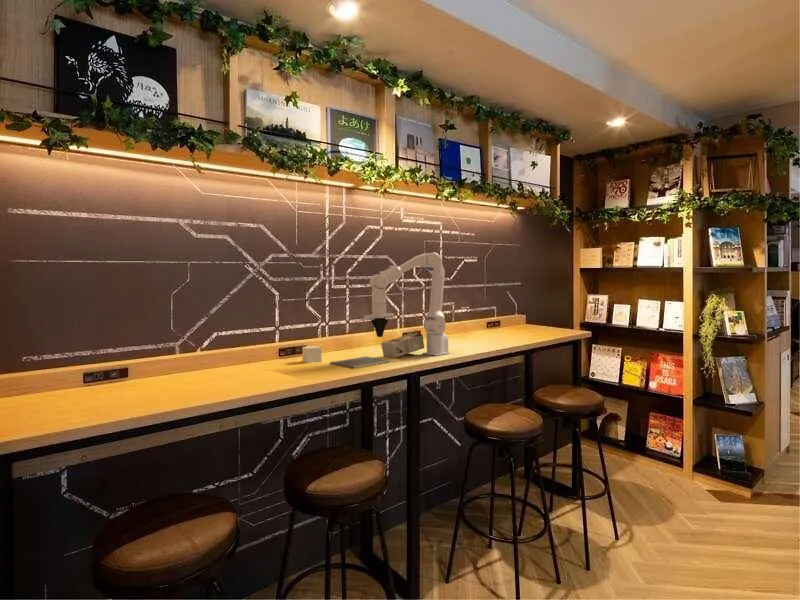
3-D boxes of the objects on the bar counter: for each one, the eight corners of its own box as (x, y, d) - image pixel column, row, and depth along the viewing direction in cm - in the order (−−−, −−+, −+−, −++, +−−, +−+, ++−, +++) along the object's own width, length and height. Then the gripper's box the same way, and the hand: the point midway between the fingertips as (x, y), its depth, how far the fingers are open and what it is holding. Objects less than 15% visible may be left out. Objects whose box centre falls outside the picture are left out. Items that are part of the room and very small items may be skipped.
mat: (365, 357, 194) (365, 356, 194) (390, 362, 183) (390, 360, 183) (329, 363, 182) (329, 362, 182) (354, 368, 170) (354, 367, 170)
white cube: (321, 362, 187) (321, 347, 187) (307, 363, 184) (306, 348, 184) (316, 359, 192) (316, 345, 192) (302, 361, 189) (302, 346, 189)
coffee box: (380, 342, 196) (409, 333, 206) (383, 356, 197) (412, 347, 206) (393, 342, 189) (422, 333, 199) (396, 358, 190) (425, 348, 199)
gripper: (386, 302, 196) (386, 334, 197) (359, 304, 187) (359, 337, 187) (397, 303, 191) (397, 335, 192) (370, 304, 181) (370, 339, 182)
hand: (379, 336), depth 189 cm, fingers closed
